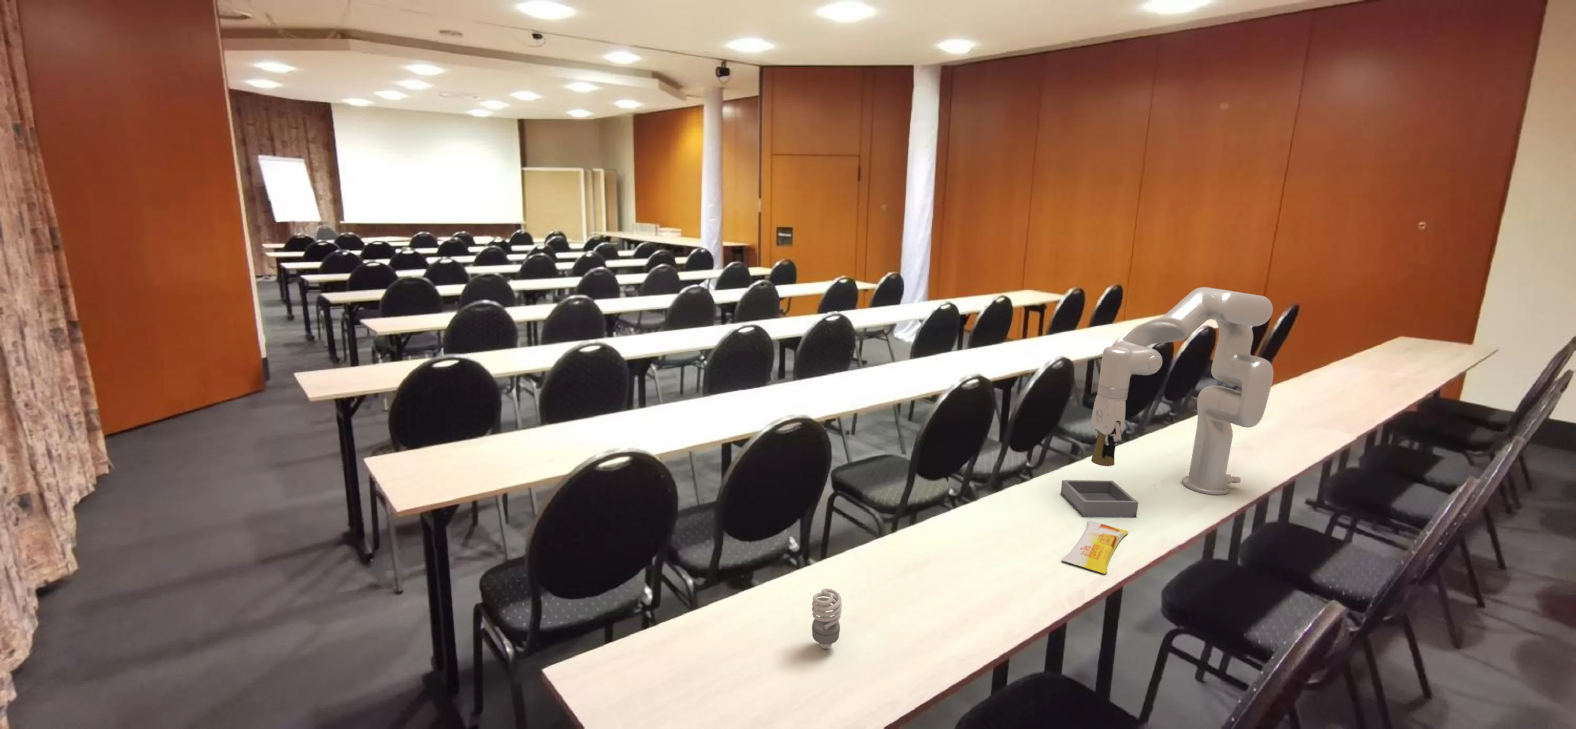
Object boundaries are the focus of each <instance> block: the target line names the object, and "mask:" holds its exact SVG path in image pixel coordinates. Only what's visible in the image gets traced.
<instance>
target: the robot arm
mask: <svg viewBox="0 0 1576 729" xmlns="http://www.w3.org/2000/svg"><path fill="white" fill-rule="evenodd" d="M1273 312H1274V308H1273V304H1272V302H1271V300H1270V299H1269V298H1268V297H1266V296H1264V295H1259V294H1253V293H1245V292H1240V291H1233V290H1227V289H1220V288H1213V287H1206V286H1205V287H1204V286H1203V287H1197V288H1195V289H1193V290H1192V291H1191V292H1189V293H1188V294H1187V295H1186V296H1184V298H1182V299H1181V300H1180V301H1179V302H1178V303H1177V304H1176V305H1174V307H1172V308H1171V309H1170V310H1168V312H1166V313H1165V314H1164V315H1163V316H1160V317H1157V318H1154V319H1151V320H1149V321H1146V322H1143V323H1139V324H1138V325H1135V326H1133V327H1131V328H1130V329H1128V330H1126V332H1124V333H1123V334H1121V336H1119V338H1117V339H1116V340H1115V341H1114V343H1112V344H1111V346H1107V347H1105V348H1104V349H1103V351H1102V356H1101V363H1100V364H1101V365H1100V371H1099V378H1098V386H1097V394H1096V396H1095V399H1094V404H1093V409H1092V413H1091V419H1090V425H1091V426H1092V428H1094V429H1095V435H1094V437H1095V441H1094V446H1095V445H1096V442H1097V438H1098V433H1097V430H1098V431H1099V432H1101V433H1102V434H1104V435H1106V436H1105V444H1103V451H1102V458H1105V456H1106V455H1107V456H1108V457H1112V459H1113V458H1114V459H1115V451H1116V446H1117V445H1118V442H1120V441H1122V435H1123V432H1124V428H1125V420H1126V407H1127V406H1126V401H1127V400H1128V396H1129V395H1128V393H1129V389H1130V388H1129V387H1130V379H1131V375H1138V376H1141V375H1142V376H1150V375H1153V374H1155V373H1157V372H1158V371H1159V370H1160V369H1161V368H1162V365H1163V356H1162V355H1161V353H1160V352H1159V351H1158V350H1156V349H1154V348H1151V347H1149V346H1151V345H1155V344H1163V343H1164V344H1165V343H1173V342H1180V341H1183V340H1186V339H1187V338H1189V337H1190V336H1191V335H1192V334H1193V333H1195V332H1196V331H1197V330H1198V329H1199V328H1200V327H1201V326H1202V325H1204V323H1206V322H1207V321H1209V320H1213V321H1215V322H1216V325H1217V327H1218V339H1217V344H1216V348H1215V352H1214V355H1213V360H1212V364H1211V368H1210V369H1211V370H1210V371H1211V375H1212V377H1213V379H1215V380H1217V381H1219V382H1222V383H1225V384H1228V385H1232V386H1236V387H1239V388H1241V391H1239V390H1238V389H1237V390H1236V389H1233V388H1230V387H1225V386H1223V385H1208V386H1206V387H1204V388H1203V389H1201V390H1200V392H1199V393H1198V395H1197V400H1196V401H1197V402H1196V408H1197V410H1196V411H1197V421H1196V422H1197V423H1196V430H1195V436H1194V443H1193V447H1192V448H1193V449H1192V453H1191V461H1190V465H1189V471H1188V475H1185V476H1183V477H1182V478H1181V483H1182V485H1183V486H1185V487H1186V488H1188V489H1189V490H1193V491H1194V492H1198V493H1200V494H1201V493H1203V494H1206V495H1215V496H1217V495H1219V496H1220V495H1221V496H1222V495H1225V494H1228V493H1229V492H1230V486H1229V485H1230V484H1232V483H1233V484H1240V483H1241V481H1242V479H1241V477H1240V476H1232V475H1231V474H1227V469H1228V464H1229V460H1230V459H1229V458H1230V454H1231V448H1232V442H1233V438H1234V435H1233V434H1234V433H1233V432H1234V431H1233V427H1232V425H1235V426H1239V427H1242V428H1249V429H1250V428H1253V427H1256V426H1257V425H1258V424H1259V423H1260V422H1261V421H1262V418H1263V417H1264V413H1265V410H1266V408H1267V404H1268V399H1269V396H1270V393H1271V388H1272V385H1273V381H1274V374H1275V373H1274V367H1273V365H1272V364H1271V361H1269V360H1267V359H1265V358H1264V357H1260V356H1256V355H1251V350H1252V345H1253V342H1254V333H1253V332H1254V331H1253V329H1252V327H1259V326H1261V325H1264V324H1266V323H1267V322H1268V321H1269V320H1270V318H1271V317H1272V315H1273ZM1112 432H1114V434H1111V433H1112ZM1109 436H1114V437H1113V438H1110V439H1109ZM1094 449H1095V447H1094ZM1094 449H1093V450H1094Z"/></svg>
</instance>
